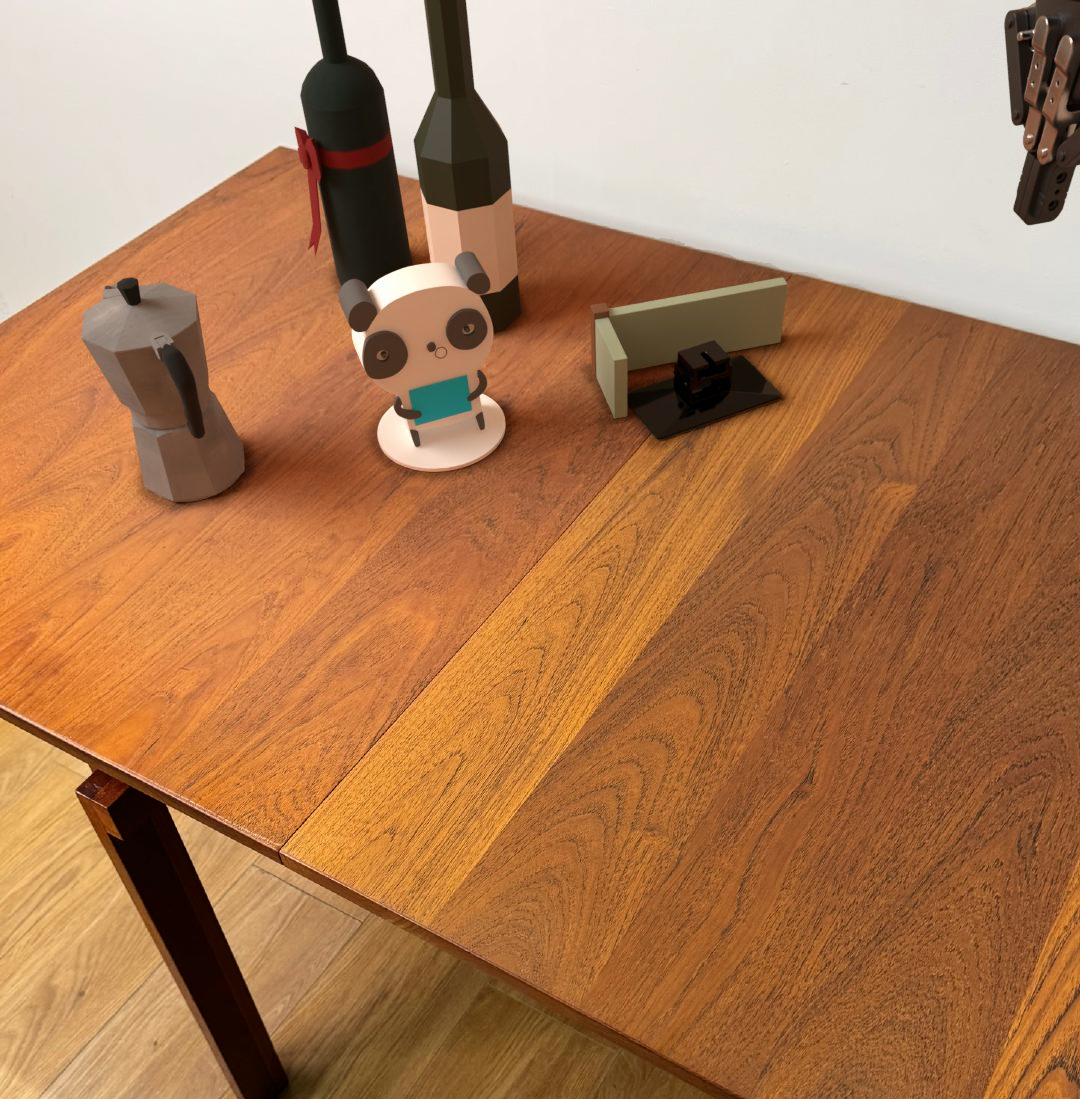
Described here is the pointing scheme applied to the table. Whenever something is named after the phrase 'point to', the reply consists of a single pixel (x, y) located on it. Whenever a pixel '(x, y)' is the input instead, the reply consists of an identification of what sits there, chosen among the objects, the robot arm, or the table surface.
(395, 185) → the wine bottle
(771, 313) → the corner rails
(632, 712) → the table surface
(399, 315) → the panda figurine
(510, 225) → the wine bottle
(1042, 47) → the robot arm
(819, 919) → the table surface
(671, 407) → the build plate
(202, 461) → the coffeepot
